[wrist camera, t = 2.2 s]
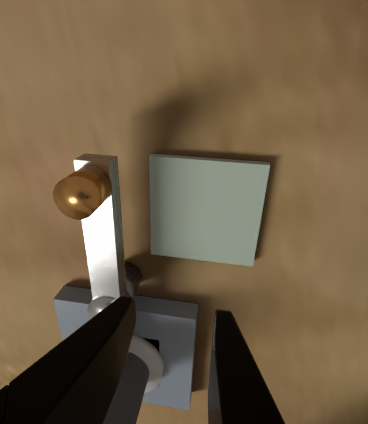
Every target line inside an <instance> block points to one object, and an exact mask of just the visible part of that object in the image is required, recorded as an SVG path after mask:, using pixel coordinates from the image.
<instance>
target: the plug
mask: <svg viewBox="0 0 368 424" xmlns="http://www.w3.org/2000/svg"><path fill="white" fill-rule="evenodd" d="M163 370H164V362H163V359H162V356H161V354H160V353H159V351H158V350H157V344H156V341H155V340H154V339H148V338H141V337H139V336H136V335H134V334H133V336H132V339H131V343H130V347H129V353H128V356H127V358H126V361H125V365H124V368H123V372H122V375H121V378H120V381H119V384H118V387H117V389H116V392H115V394H114V397H113V399H112V402H111V405H110V407H109V410H108V412H107V415H106V417H105V420H104V422H103V424H136V421H137V417H138V414H139V410H140V407H141V403H142V399H143V396H144V393H147V392H150V391H152V390H153V389H155V388H156V387H157V386H158V385H159V383H160V381H161V378H162V374H163Z"/></svg>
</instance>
